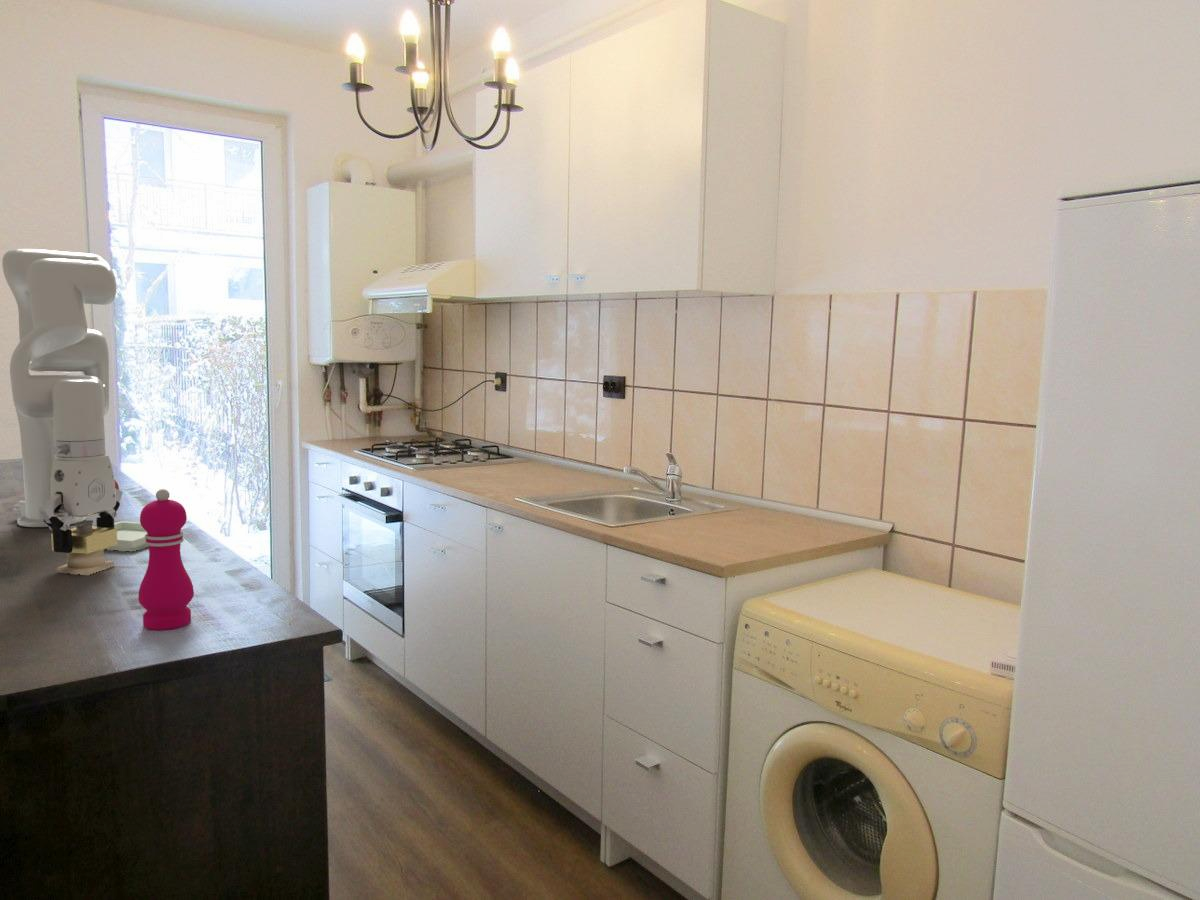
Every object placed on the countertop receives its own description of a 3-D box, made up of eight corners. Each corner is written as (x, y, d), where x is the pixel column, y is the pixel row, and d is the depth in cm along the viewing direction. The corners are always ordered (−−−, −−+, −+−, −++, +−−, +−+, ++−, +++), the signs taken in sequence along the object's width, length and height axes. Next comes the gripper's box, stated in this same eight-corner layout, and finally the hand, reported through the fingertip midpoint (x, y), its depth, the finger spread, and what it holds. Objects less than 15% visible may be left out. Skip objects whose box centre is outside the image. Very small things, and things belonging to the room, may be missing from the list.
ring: (87, 553, 145) (86, 536, 144) (42, 549, 146) (41, 533, 146) (117, 544, 151) (116, 528, 151) (74, 540, 153) (73, 524, 153)
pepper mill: (152, 615, 127) (147, 484, 124) (202, 615, 127) (198, 485, 125) (130, 631, 120) (124, 493, 117) (183, 631, 120) (178, 494, 118)
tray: (69, 546, 164) (68, 535, 164) (122, 531, 178) (122, 521, 177) (132, 552, 162) (132, 541, 161) (181, 536, 175) (181, 525, 175)
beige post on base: (58, 572, 147) (55, 524, 146) (85, 563, 153) (82, 517, 152) (88, 575, 146) (85, 526, 145) (113, 566, 152) (111, 519, 150)
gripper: (58, 456, 137) (64, 559, 139) (135, 445, 154) (139, 536, 156) (19, 454, 139) (25, 556, 141) (99, 443, 155) (104, 533, 158)
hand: (85, 545), depth 148 cm, fingers open, 9 cm apart
